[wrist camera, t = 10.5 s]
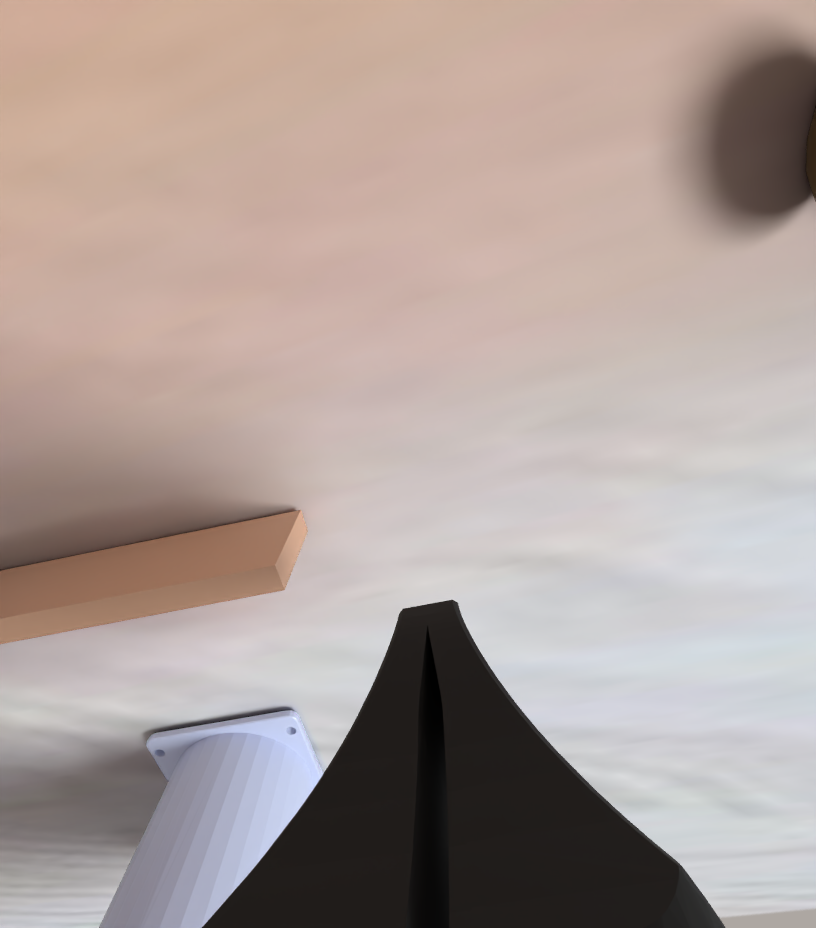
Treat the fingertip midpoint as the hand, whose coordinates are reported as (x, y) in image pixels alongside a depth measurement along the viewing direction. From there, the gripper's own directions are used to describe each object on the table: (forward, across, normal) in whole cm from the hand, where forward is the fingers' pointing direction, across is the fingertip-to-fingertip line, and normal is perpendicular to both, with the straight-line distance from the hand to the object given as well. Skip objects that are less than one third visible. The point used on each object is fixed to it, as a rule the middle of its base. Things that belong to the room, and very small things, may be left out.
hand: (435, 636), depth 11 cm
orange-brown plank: (+8, +13, 0) cm, 15 cm away
